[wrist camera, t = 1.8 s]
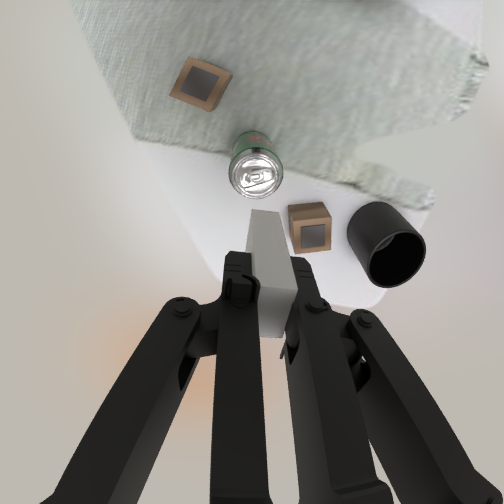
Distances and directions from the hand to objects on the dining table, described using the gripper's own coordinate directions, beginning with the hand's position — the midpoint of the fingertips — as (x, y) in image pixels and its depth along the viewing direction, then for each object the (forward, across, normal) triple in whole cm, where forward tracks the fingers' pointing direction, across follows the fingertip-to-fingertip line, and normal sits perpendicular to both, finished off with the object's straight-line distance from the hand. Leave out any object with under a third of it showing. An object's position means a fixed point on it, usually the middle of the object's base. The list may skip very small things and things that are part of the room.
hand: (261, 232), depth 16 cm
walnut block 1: (+22, -7, +8) cm, 25 cm away
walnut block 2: (+22, +9, -9) cm, 25 cm away
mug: (+22, +21, -10) cm, 32 cm away
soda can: (+22, 0, 0) cm, 22 cm away
